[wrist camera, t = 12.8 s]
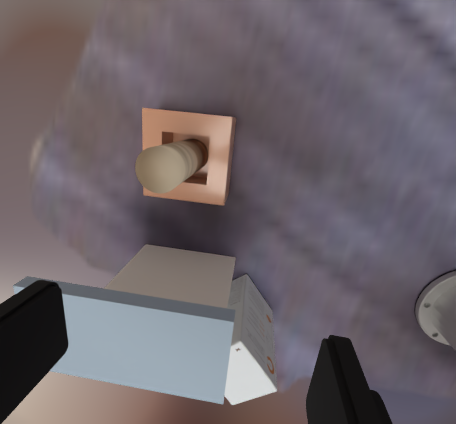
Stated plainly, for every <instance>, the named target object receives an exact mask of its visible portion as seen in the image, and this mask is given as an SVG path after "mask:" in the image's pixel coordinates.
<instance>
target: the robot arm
mask: <svg viewBox="0 0 456 424" xmlns="http://www.w3.org/2000/svg"><path fill="white" fill-rule="evenodd" d="M415 316H416V319H417V322H418V324H419V325H420V327H421V328H422V330H423V331H424V332H425V333H426V334H427V335H428V336H429V337H430V338H432V339H434V340H436V341H437V342H440V343H443V344H446V345H451V346H452V348H453V349H454V350H455V351H456V271H454V272H450V273H448V274H445V275H443V276H441V277H439V278H438V279H436V280H435V281H433V282H432V283H431V284H429V285H428V286H427V287H426V288H425V289H424V291H423V292H422V293H421V295H420V296H419V298H418V300H417V303H416V308H415ZM67 349H68V335H67V328H66V320H65V312H64V305H63V297H62V290H61V288H60V287H59V285H58V284H57V283H56V282H52V281H47V280H37V281H35V282H34V283H32V284H30V285H29V286H27V287H26V288H24V289H23V290H21V291H20V292H18V293H17V294H15V295H13V296H12V297H11V298H9V299H7V300H6V301H4V302H3V303H1V304H0V424H1V423H2V422H3V421H4V420H5V419H6V418H7V416H9V415H10V414H11V412H12V411H13V410H14V409H15V408H16V407H17V406H18V405H19V403H21V401H22V400H23V399H24V398H25V397H26V396H27V395H28V394H29V393H30V391H31V390H32V389H33V388H34V387H35V386H36V385H37V384H38V383H39V382H40V381H41V379H42V378H43V377H44V376H45V375H46V374H47V373H48V372H49V371H50V370H51V369H52V368H53V366H54V365H55V364H56V363H57V362H58V361H59V360H60V359H61V358H62V357H63V355H64V354H65V353H66V351H67ZM306 410H307V419H308V424H392V422H391V419H390V417H389V415H388V412H387V410H386V407H385V405H384V402H383V400H382V399H381V397H380V395H379V394H378V393H377V392H376V391H374V390H370V389H369V386H368V384H367V381H366V379H365V376H364V373H363V371H362V368H361V366H360V363H359V360H358V358H357V355H356V353H355V350H354V347H353V345H352V342H351V340H350V339H349V338H345V337H340V336H334V335H330V336H329V337H328V339H325V338H324V339H323V340H322V343H321V347H320V350H319V354H318V358H317V361H316V365H315V368H314V372H313V376H312V379H311V383H310V386H309V390H308V394H307V399H306Z"/></svg>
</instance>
